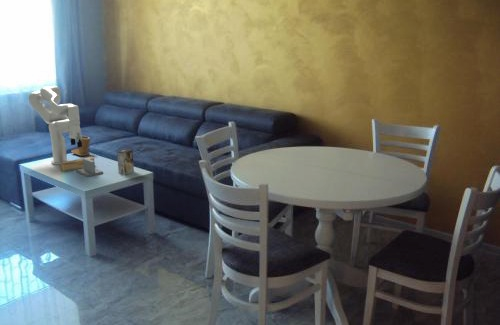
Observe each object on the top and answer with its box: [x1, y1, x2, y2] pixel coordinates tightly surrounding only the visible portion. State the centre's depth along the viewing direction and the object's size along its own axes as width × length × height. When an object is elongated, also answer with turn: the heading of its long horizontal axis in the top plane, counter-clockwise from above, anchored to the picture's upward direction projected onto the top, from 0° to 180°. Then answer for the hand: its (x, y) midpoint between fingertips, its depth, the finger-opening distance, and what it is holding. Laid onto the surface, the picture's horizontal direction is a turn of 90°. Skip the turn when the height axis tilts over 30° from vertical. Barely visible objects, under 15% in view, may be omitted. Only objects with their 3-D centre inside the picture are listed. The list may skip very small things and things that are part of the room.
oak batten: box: [59, 156, 95, 173], centre depth 347 cm, size 4×24×6 cm, turn 136°
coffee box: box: [116, 148, 135, 176], centre depth 336 cm, size 9×6×16 cm
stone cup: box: [70, 135, 91, 157], centre depth 381 cm, size 15×12×15 cm
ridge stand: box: [75, 157, 104, 178], centre depth 335 cm, size 16×12×10 cm
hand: (76, 146), depth 343 cm, fingers open, 9 cm apart
